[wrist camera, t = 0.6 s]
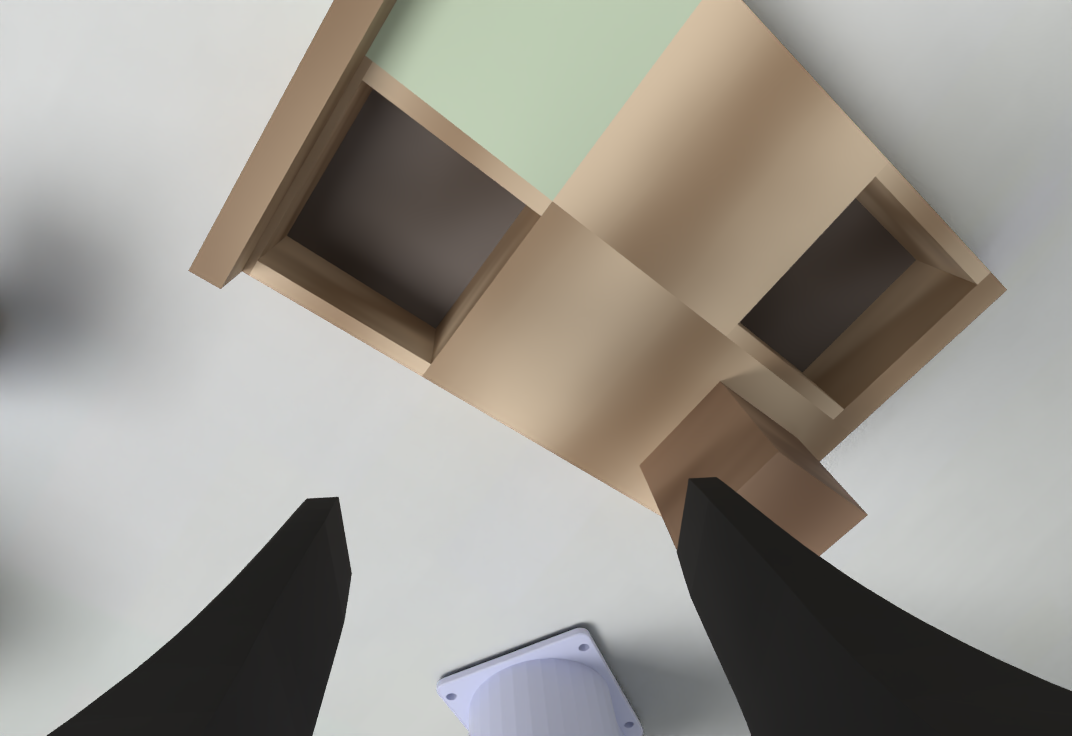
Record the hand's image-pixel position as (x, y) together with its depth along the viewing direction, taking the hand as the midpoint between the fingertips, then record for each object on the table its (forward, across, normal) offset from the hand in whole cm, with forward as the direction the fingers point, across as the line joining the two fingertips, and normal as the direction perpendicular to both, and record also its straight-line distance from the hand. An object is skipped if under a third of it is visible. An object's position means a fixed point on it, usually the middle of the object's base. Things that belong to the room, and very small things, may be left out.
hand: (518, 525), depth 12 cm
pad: (+10, -1, -10) cm, 14 cm away
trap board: (+10, -4, -3) cm, 11 cm away
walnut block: (+7, -8, +3) cm, 11 cm away
